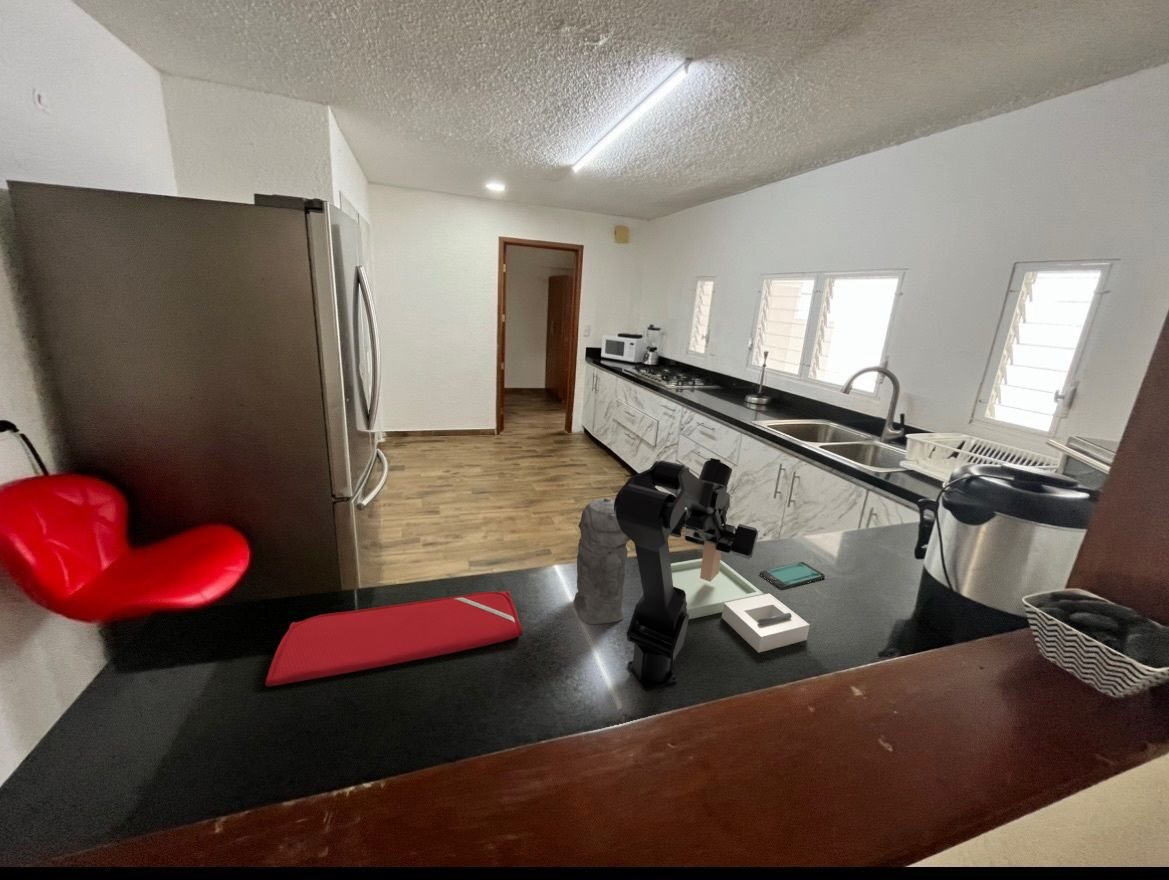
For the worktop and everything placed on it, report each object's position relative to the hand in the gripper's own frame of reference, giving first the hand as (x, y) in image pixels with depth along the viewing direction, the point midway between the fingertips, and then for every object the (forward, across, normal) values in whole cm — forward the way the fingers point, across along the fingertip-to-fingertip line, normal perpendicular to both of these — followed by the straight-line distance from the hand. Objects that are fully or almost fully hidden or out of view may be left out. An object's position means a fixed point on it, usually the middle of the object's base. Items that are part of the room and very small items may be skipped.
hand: (714, 545), depth 104 cm
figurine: (-8, +17, +24) cm, 30 cm away
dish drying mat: (-28, +42, +44) cm, 67 cm away
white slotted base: (+2, -14, +13) cm, 19 cm away
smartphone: (+21, -16, -5) cm, 26 cm away
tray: (+6, +1, +9) cm, 11 cm away
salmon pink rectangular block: (+4, 0, +6) cm, 7 cm away
